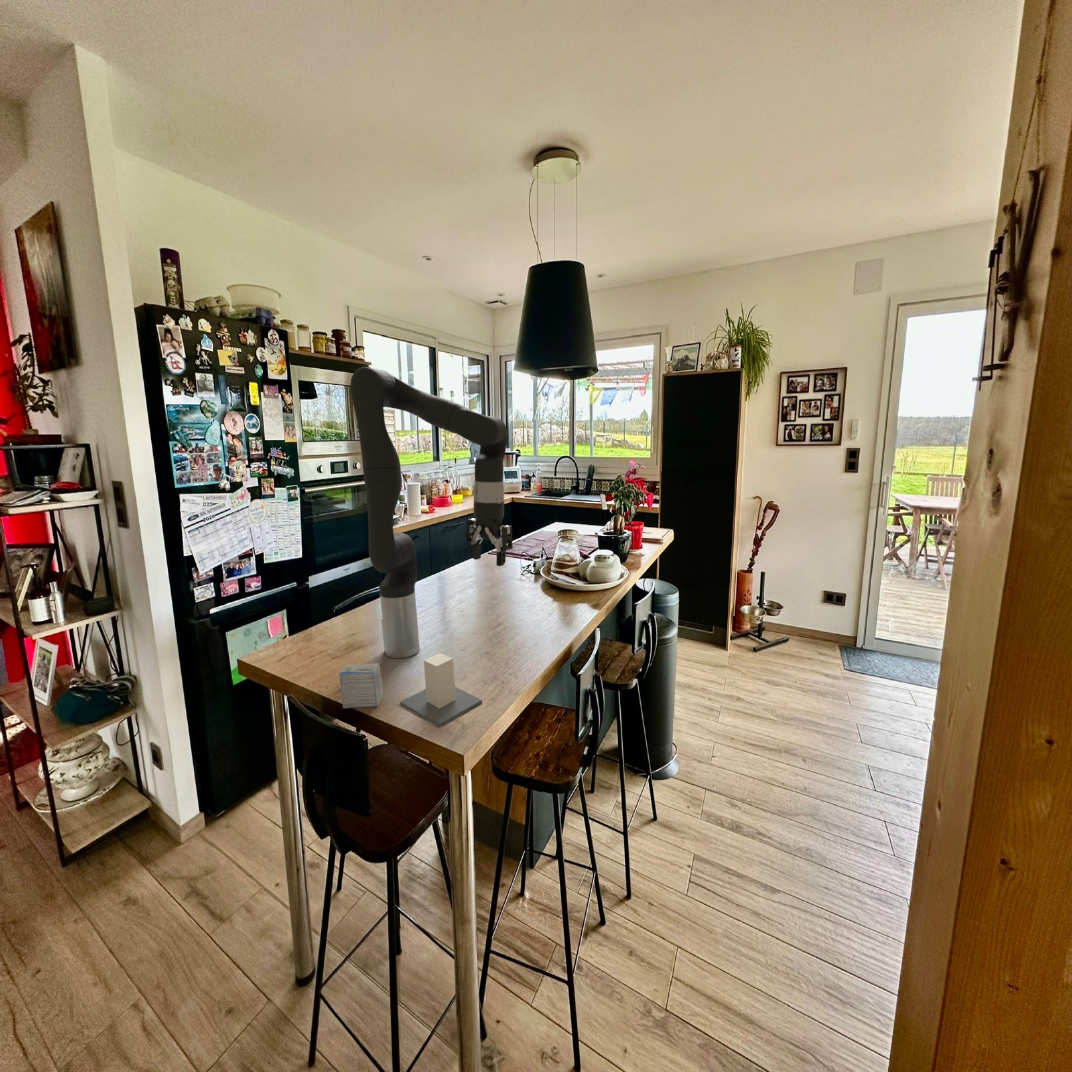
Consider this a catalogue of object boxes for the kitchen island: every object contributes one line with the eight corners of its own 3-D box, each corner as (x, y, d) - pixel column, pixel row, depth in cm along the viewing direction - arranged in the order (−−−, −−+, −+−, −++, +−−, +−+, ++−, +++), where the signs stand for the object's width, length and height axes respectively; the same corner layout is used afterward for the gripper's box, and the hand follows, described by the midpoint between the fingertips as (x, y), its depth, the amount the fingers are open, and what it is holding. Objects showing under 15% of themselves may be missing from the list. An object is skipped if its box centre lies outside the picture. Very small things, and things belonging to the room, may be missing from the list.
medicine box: (383, 697, 113) (380, 662, 111) (378, 707, 109) (374, 671, 107) (349, 698, 113) (345, 663, 111) (342, 709, 108) (338, 673, 106)
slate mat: (400, 703, 110) (400, 701, 110) (442, 682, 118) (442, 680, 118) (438, 727, 101) (438, 724, 100) (482, 702, 109) (481, 700, 109)
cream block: (427, 701, 109) (423, 660, 107) (443, 693, 112) (440, 653, 110) (439, 708, 106) (436, 666, 104) (455, 699, 110) (452, 658, 108)
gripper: (458, 497, 122) (458, 559, 126) (498, 504, 114) (498, 571, 117) (480, 494, 128) (479, 554, 132) (520, 501, 119) (519, 565, 123)
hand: (488, 562), depth 124 cm, fingers open, 8 cm apart
